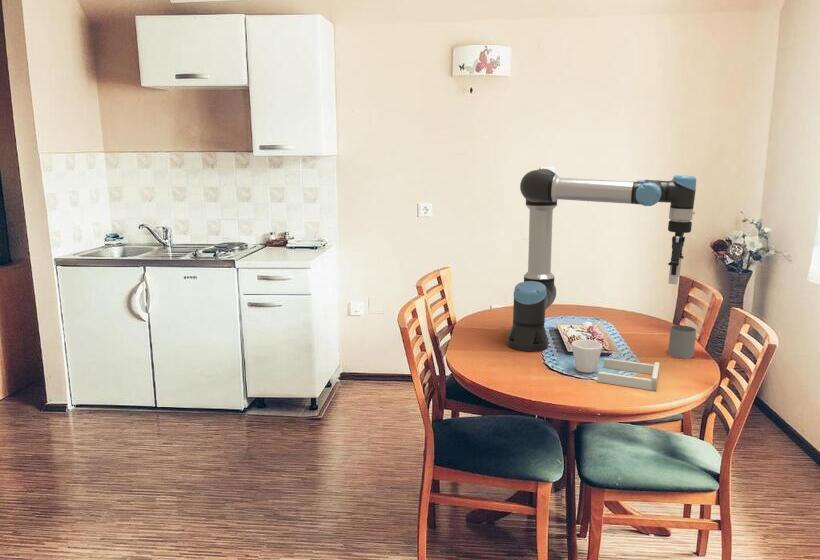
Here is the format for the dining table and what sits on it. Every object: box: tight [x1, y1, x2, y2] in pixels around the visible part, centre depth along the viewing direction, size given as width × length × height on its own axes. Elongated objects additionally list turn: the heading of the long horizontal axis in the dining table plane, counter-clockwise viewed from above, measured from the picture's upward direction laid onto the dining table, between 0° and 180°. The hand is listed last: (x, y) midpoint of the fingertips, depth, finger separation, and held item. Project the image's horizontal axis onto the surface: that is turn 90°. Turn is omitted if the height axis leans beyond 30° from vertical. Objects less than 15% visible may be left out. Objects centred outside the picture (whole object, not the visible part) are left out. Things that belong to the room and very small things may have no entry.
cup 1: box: [571, 339, 604, 374], centre depth 214 cm, size 10×10×9 cm
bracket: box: [597, 357, 660, 391], centre depth 209 cm, size 18×16×4 cm
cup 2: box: [667, 324, 697, 359], centre depth 231 cm, size 8×8×10 cm
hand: (674, 280), depth 227 cm, fingers open, 13 cm apart
